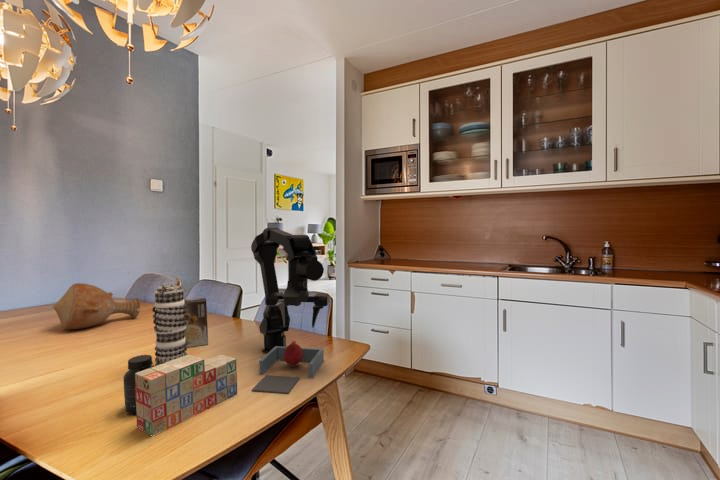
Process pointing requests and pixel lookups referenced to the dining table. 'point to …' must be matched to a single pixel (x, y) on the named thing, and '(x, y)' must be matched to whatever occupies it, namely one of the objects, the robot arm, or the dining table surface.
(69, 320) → the jug
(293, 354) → the onion
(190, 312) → the coffee box
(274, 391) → the mat
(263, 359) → the u-shaped frame
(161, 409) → the stack of blocks
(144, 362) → the supplement bottle
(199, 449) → the dining table surface
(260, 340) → the dining table surface
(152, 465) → the dining table surface
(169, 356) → the decorative candle
